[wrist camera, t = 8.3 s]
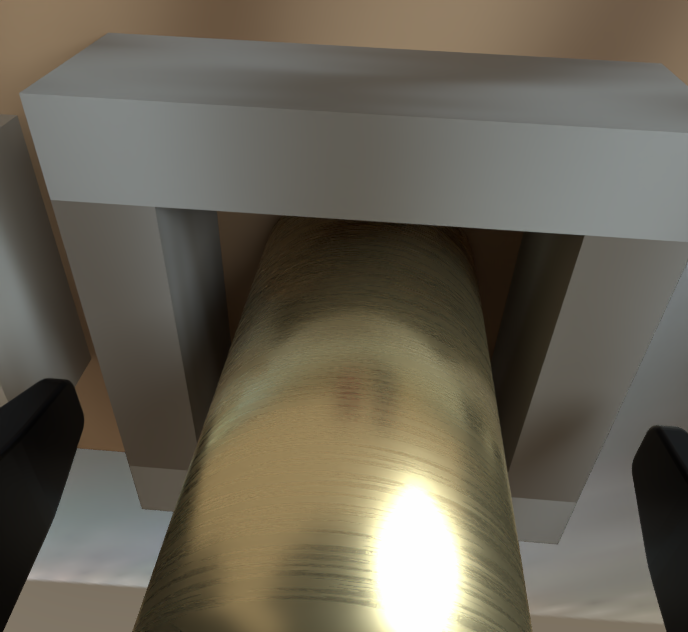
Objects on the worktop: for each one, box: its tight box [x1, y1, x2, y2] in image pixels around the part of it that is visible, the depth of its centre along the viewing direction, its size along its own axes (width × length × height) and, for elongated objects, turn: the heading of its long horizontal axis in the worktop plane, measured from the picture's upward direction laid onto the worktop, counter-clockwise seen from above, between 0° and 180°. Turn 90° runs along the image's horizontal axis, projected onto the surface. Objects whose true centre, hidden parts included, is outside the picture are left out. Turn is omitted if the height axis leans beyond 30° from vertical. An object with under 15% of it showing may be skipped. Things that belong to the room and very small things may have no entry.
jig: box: [0, 0, 688, 544], centre depth 12 cm, size 18×13×4 cm
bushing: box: [132, 215, 532, 632], centre depth 10 cm, size 4×4×8 cm
